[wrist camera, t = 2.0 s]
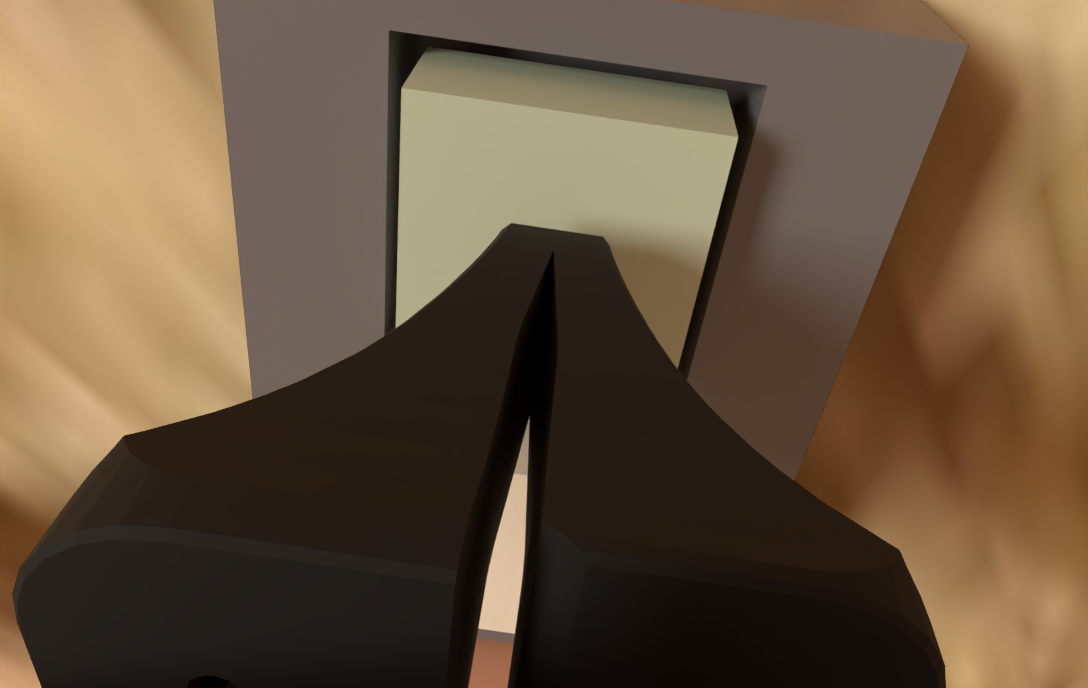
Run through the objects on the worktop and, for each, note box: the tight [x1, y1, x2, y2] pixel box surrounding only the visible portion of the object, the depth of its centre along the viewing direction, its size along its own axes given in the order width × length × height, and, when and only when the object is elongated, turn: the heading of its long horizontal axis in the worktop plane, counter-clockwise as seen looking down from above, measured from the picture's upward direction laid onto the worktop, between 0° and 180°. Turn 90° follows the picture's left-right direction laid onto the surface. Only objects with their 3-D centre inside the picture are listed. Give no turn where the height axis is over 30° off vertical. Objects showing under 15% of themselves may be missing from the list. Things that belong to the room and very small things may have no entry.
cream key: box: [478, 420, 530, 634], centre depth 17 cm, size 4×4×2 cm
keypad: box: [213, 0, 969, 643], centre depth 18 cm, size 10×20×3 cm, turn 173°
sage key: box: [396, 47, 738, 369], centre depth 13 cm, size 4×4×2 cm
